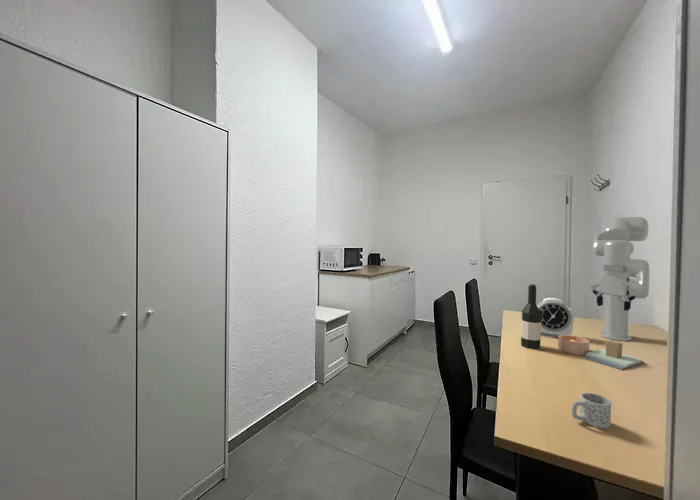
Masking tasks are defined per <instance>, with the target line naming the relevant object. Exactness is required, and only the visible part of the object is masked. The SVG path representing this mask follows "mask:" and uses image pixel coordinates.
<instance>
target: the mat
mask: <svg viewBox="0 0 700 500" xmlns="http://www.w3.org/2000/svg"><path fill="white" fill-rule="evenodd" d="M582 359H586V360H588V361H592V362H595V363H598V364H600V365H605V366H607V367H610V368H615V369H616V370H620V371H623V370H625V369H630V368H632V367H635V366H638V365H640V364H644V362H645V361H644V360H642V362H640V363H637V364H634V365H631V366H628V367H623V366H620V365H616V364H613V363H610V362H607V361H603V360H600V359H597V358H593V357H590V356H587V355H582Z"/></svg>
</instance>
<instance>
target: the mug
mask: <svg viewBox="0 0 700 500" xmlns="http://www.w3.org/2000/svg"><path fill="white" fill-rule="evenodd" d="M571 405H572V406H571V415H572V418H573V419H576V420H579V421H582V422H583V423H585V424H586V425H588V426H590V427H593V428H597V429H599V430H608V429H610V428H611V418H612V416H611V415H612V414H611V412H612V401H611V400H610V399H609V398H606V397H605V396H602V395H600V394H596V393H593V392H592V393H591V392H584V393H581V394H580V400H576V401H574V402H572V404H571ZM579 406H580V414H577V409H578V407H579Z"/></svg>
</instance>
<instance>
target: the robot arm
mask: <svg viewBox="0 0 700 500" xmlns="http://www.w3.org/2000/svg"><path fill="white" fill-rule="evenodd" d="M648 236H649V222H648V220H647V219H646V218H645V217H642V216H625V217H624V216H623V217H621V216H620V217H616V218H614V219H612V220H611V221H610V222H609V223H608V226H606V227H605V228H604V229H603V232H601V233H598V234H597V235H596V236H594V239H593V243H592V249H591V250H592V252H593V254H594V255H595V256H597V257H603V271H600V272H601V273H600V276H599V280H598V283H596V284H594V285H590V289H591V291H592V293H593V294H594V295H595V298H596V305H597V306H598V307H600V306H603V305H604V299H605V305H604V309H605V310H604V324H603V325H604V326H603V327H604V328H603V329H604V330H603V331H601V332H600V336H601V337H603V338H606V339H609V340H613V341H623V342H625V341H626V342H629V341H632V337H631V336H630V335H628V333H630V329H629V313H630V312H629V311H630V309H631V308H632V307H631V304H632V301H633V300H635V299H646V298H648V297H649V292H650V264H649V262H648V261H647V260H645V259H640V258H639V259H638V258H631V255H632V254H633V253H634V250H635V248H634V247H635V245H634V244H632V242H644V241H646V240H647V239H648ZM630 278H631V279H630ZM632 278H636V279H632ZM597 288H598V290H597ZM603 295H605V296H603Z"/></svg>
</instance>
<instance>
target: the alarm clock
mask: <svg viewBox="0 0 700 500" xmlns="http://www.w3.org/2000/svg"><path fill="white" fill-rule="evenodd" d="M542 300H543V301H540V302H539V303H538V304H536V305H537V307H538V309H539V310H540V312H541V337H542V336H543V337H549V338H557V339H558V336H559V335H572V333H573V329H574V321H575V319H574V314H573V311H572V309H571V308H570V307H567V306H566V305H565V304H564V303H563V300H562V299H559V298H557V297H546V298H543V299H542Z"/></svg>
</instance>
